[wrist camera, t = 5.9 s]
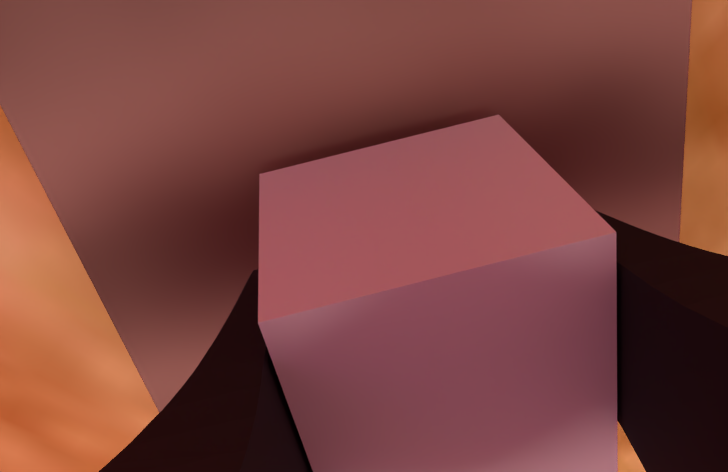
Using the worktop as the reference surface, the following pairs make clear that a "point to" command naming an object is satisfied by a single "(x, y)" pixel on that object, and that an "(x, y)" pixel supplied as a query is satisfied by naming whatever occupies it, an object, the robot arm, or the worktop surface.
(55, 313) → the worktop surface
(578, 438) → the cube
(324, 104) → the base
